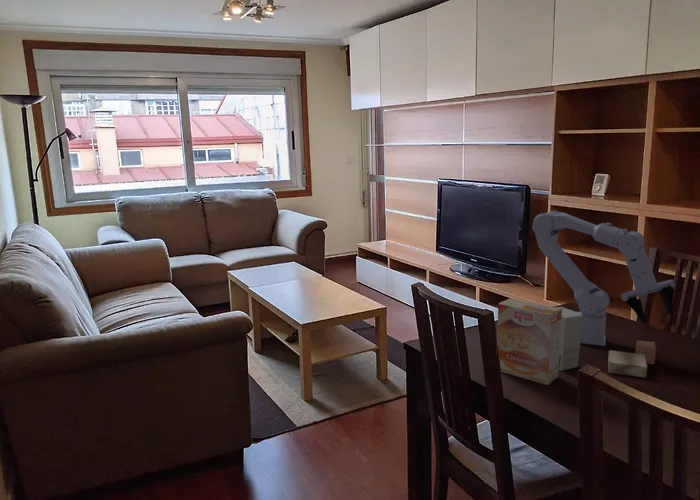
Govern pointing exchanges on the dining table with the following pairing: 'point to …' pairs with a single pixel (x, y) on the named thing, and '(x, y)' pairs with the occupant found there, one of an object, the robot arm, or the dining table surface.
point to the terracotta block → (646, 350)
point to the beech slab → (627, 363)
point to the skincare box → (569, 339)
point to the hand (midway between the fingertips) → (657, 317)
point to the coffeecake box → (529, 340)
